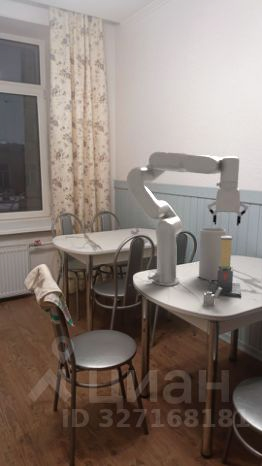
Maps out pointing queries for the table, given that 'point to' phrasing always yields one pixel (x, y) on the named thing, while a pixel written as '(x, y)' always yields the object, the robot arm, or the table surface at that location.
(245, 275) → the table surface
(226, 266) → the column
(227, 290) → the stand base
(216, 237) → the cylinder vase
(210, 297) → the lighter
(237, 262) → the table surface
